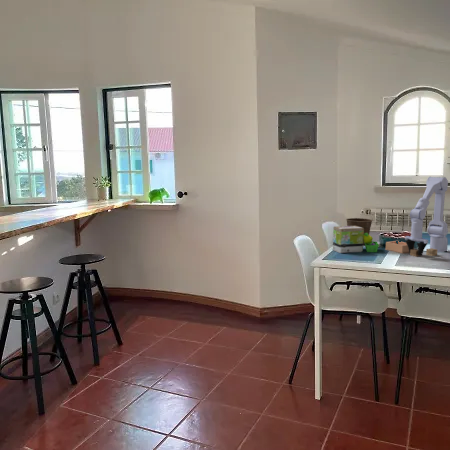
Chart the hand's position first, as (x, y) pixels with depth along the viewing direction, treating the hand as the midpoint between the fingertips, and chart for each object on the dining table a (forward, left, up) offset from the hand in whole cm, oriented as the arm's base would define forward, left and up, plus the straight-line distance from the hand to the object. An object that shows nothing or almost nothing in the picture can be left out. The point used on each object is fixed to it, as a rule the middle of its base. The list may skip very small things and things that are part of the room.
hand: (415, 254), depth 260 cm
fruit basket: (+12, -23, -2) cm, 26 cm away
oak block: (-9, +3, -2) cm, 10 cm away
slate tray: (-3, -13, -1) cm, 13 cm away
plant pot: (+3, -44, -2) cm, 44 cm away
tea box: (+23, -30, -2) cm, 38 cm away
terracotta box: (-2, -14, -1) cm, 14 cm away
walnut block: (0, 0, -2) cm, 2 cm away
